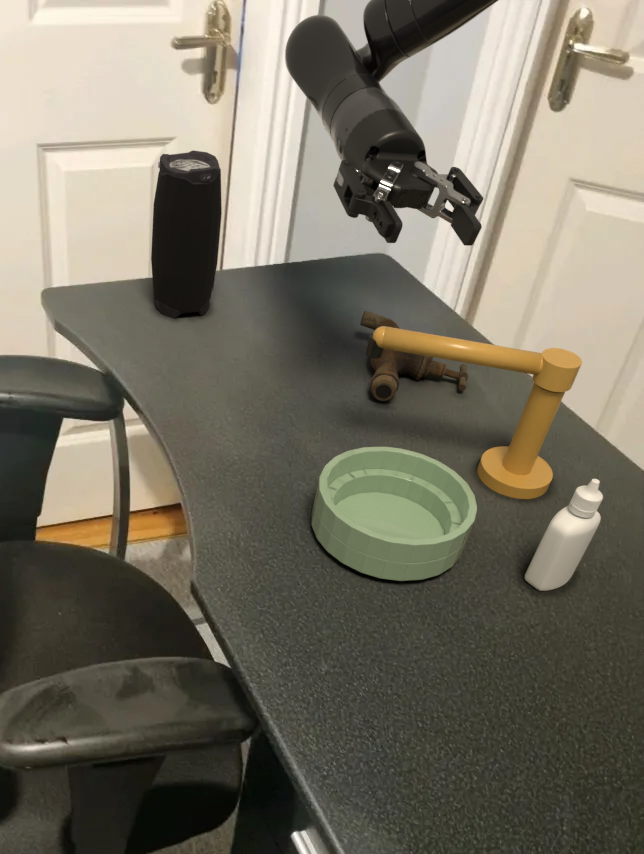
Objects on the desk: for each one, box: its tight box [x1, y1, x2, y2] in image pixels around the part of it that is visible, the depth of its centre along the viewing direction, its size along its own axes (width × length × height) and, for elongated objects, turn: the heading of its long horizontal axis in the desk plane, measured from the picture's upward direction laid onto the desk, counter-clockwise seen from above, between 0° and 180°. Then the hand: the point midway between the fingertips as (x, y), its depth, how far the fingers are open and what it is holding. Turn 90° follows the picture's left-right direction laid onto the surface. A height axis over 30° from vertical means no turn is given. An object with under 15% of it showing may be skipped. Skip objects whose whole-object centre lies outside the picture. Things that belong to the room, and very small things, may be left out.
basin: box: [311, 446, 478, 582], centre depth 86 cm, size 16×16×6 cm
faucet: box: [359, 310, 469, 402], centre depth 110 cm, size 5×17×15 cm
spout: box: [365, 326, 583, 393], centre depth 88 cm, size 21×4×3 cm, turn 77°
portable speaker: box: [150, 149, 223, 319], centre depth 114 cm, size 9×9×20 cm
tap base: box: [476, 382, 566, 500], centre depth 93 cm, size 8×8×12 cm
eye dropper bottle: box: [523, 478, 604, 592], centre depth 81 cm, size 4×6×12 cm
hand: (435, 236), depth 81 cm, fingers open, 8 cm apart
